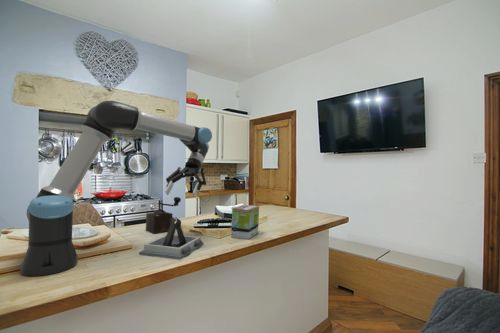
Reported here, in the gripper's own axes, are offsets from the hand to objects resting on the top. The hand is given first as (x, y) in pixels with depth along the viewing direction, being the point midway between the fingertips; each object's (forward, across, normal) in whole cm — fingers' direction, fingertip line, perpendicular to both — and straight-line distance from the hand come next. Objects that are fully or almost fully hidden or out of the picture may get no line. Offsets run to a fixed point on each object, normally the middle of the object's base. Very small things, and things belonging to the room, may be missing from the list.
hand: (180, 193), depth 118 cm
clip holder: (+23, -3, -9) cm, 24 cm away
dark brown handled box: (+2, +18, -29) cm, 34 cm away
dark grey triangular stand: (+22, -4, -8) cm, 24 cm away
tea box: (+1, -27, -30) cm, 40 cm away
